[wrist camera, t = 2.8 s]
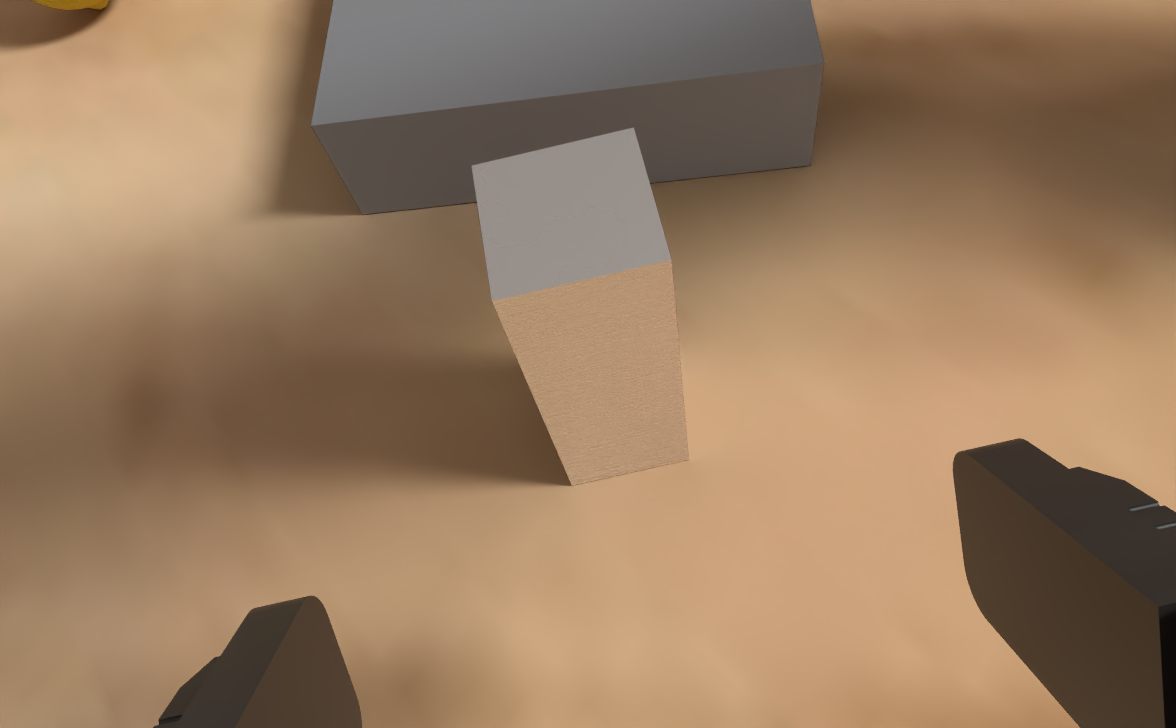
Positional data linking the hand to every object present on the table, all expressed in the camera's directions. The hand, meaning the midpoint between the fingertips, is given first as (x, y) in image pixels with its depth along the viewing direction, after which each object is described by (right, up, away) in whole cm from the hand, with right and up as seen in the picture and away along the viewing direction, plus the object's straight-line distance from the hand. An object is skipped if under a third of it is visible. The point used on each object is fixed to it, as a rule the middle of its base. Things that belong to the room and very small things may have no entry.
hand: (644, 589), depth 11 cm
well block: (-1, +16, +23) cm, 28 cm away
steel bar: (0, +1, +15) cm, 15 cm away
